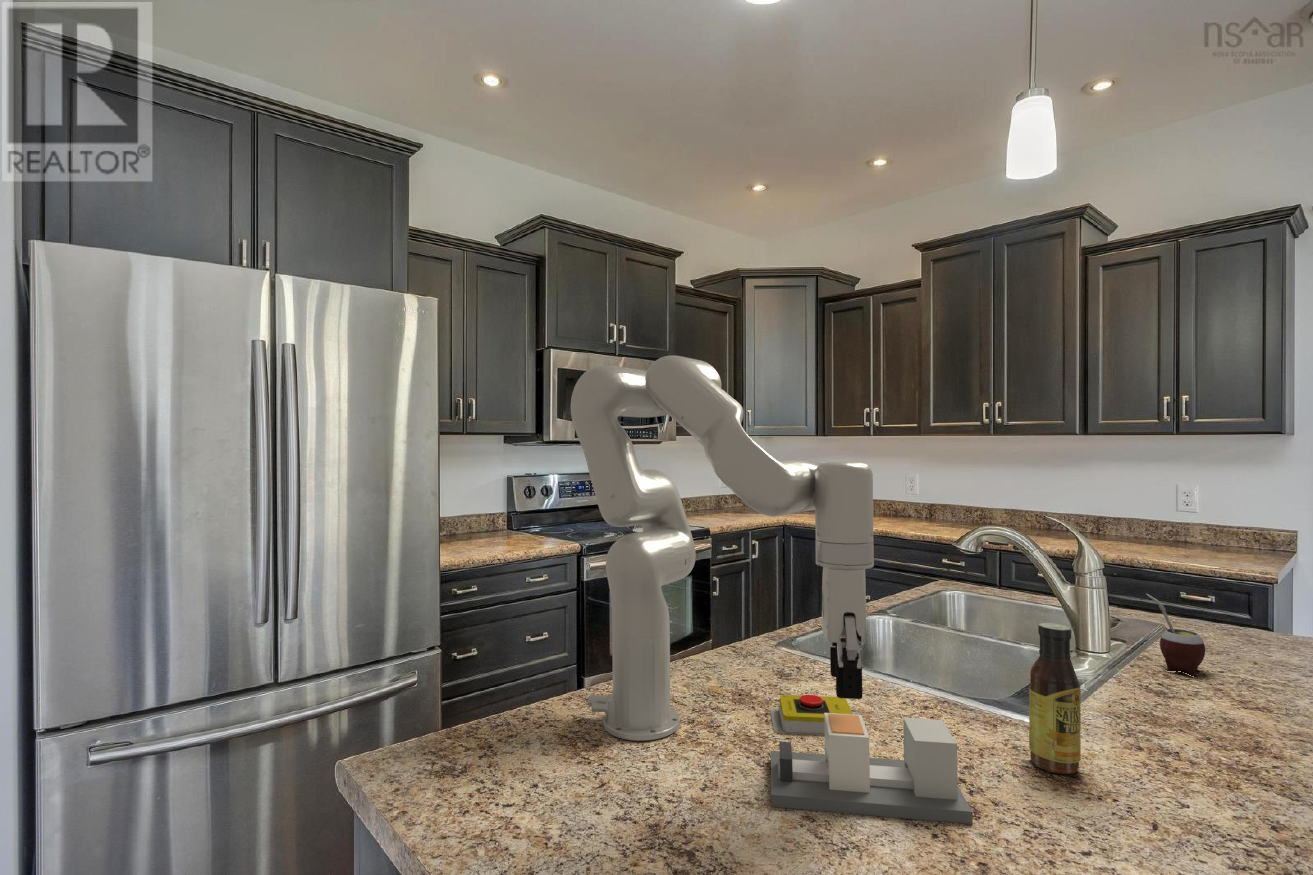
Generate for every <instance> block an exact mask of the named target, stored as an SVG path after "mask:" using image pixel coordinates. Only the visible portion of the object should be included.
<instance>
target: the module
mask: <svg viewBox="0 0 1313 875" xmlns="http://www.w3.org/2000/svg"><path fill="white" fill-rule="evenodd" d="M865 726H866V724H865V721H864V719H863V715H861V714H860V715H852V714H836V713H824V730H825V735H824V755H825V762H829V789H831V790H843V791H855V792H867V793H870V762H869V758H870V735H869V736H868V733H867V730H868V729H867V730H866V728H867V726H866V727H865Z"/></svg>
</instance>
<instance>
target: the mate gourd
mask: <svg viewBox="0 0 1313 875" xmlns="http://www.w3.org/2000/svg"><path fill="white" fill-rule="evenodd" d="M1145 595H1146V596H1147V597H1148V598H1150V599H1151V600H1152V601H1154V602H1155V603H1156V604H1157V605H1158V607H1159V609H1160V611H1161V612H1162V615H1163V616H1164V619H1165V621H1166V623H1167V625H1168V628H1167V629H1165V630H1164V632H1162V634H1161V635H1160V640H1159V647H1160V648H1159V649H1160V652H1161V654H1162V655H1163V658H1164V660H1165V663H1166V664H1165V665H1166V667H1167V669H1165V671H1166V670H1167V671H1176V672H1178V671H1181V672H1184V673H1187V674H1189V675H1191V676H1194V677H1197V678H1198V675H1197V674H1196V673H1195V672H1199V673H1200V669H1198V667H1199V666H1200V665H1201V664H1202V662H1203V661H1204V658H1205V655H1206V645H1205V642H1204V640H1203V638H1202V637H1201V636H1200V634H1199V633H1197V632H1194V631H1191V630H1187V629H1181V628H1174V627H1173V624H1172V623H1171V620H1170V618H1169V616H1168V613H1167V611H1166V607H1165V606H1164V604H1162V602H1160V600H1158V599H1157V598H1155V597H1153V596H1152V595H1150V594H1148V593H1145Z"/></svg>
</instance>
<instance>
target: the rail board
mask: <svg viewBox="0 0 1313 875" xmlns="http://www.w3.org/2000/svg"><path fill="white" fill-rule="evenodd" d="M902 720H903V722H902V723H903V760H901V759H892V758H890V759H889V758H877V757H876V758H875V757H869V762H870V793H867V792H855V791H843V790H831V789H829V762H825V754H821V753H810V752H809V753H808V752H807V753H806V752H795V751H792V750H793V749H792V742H791V741H779V744H778V745H779V747H778V748H779V750H770V798H771V800H770V802H771V803H770V806H771V808H773V807H774V808H783V809H785V808H786V809H793V810H796V809H797V810H805V811H806V810H807V811H818V812H826V813H828V812H829V813H841V814H853V815H862V816H863V815H865V816H876V817H886V818H887V817H888V818H896V819H897V818H898V819H907V820H909V819H910V820H911V819H912V820H920V821H930V822H931V821H932V822H942V823H943V822H945V823H953V824H954V823H955V824H963V825H964V824H966V825H974V822H973V810H972V808H971V807H970V805H969V803H968V801H967V799H966V798H965V796H964V794H963V792H962V790H961V789H960V787H959V785H958V743H957V742H956V740H955V739H954V737H953V735H952V733H951V732H950V730H949V728H948V727H947V726H946V724H945V722H944V721H943V719H930V718H916V717H915V718H914V717H903V719H902Z"/></svg>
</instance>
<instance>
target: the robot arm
mask: <svg viewBox="0 0 1313 875" xmlns="http://www.w3.org/2000/svg"><path fill="white" fill-rule="evenodd" d="M571 394H572V395H571V400H570V414H571V415H570V416H571V420H572V421H571V422H572V424H573V428H574V430H575V431H574V432H575V433H576V435H577V438H578V440H579V441H578V442H579V443H580V447H581V448H582V449H581V450H582V452H583V454H584V457H585V461H586V464H587V465H586V466H587V470H588V473H589V477H590V481H591V484H592V488H593V492H594V495H595V499H596V502H597V506H598V508H599V512H600V514H601V516H602V518H603V520H604V521H605V522H606V523H607V525H609V526H612V527H616V528H628V527H634V526H639V525H640V526H641V529H642V530H643V531H638V532H633V533H630V534H627V535H625V536H622V537H620V538H618V539H617V540H616V541H615V542H614V543H613V544H612V545H611V546H610V548H609V549H608V551H607V555H606V558H605V572H606V576H607V577H606V578H607V582H608V587H609V593H610V594H609V595H610V599H611V600H610V601H611V602H610V604H611V629H612V630H611V632H612V638H611V639H612V640H611V641H612V650H611V651H612V693H608V694H607V695H606V696H605V695H599V694H589V696H588V700H587V703H588V704H587V706H588V707H591V708H590V709H591V712H593V713H600V712H601V713H604V714H605V715H603V728H604V730H605V731H606V732H607V733H608V734H610V735H611V736H613V737H616V738H619V739H620V740H621V739H622V740H627V741H636V742H641V741H643V742H645V741H654V740H659V739H662V738H666V737H668V736H670V735H672V734H674V733H675V732H676V731H677V730H678V729H679V728H680V724H681V722H680V721H681V718H680V715H679V714H680V713H678V712H677V711H676V710H674V709H673V708H672V707H671V649H670V648H671V639H670V638H671V635H670V634H671V633H670V632H671V631H670V630H671V629H670V624H671V622H670V613H669V612H670V611H669V607H668V604H667V601H666V599H665V596H664V593H663V589H662V587H663V586H665V585H669V584H672V583H675V582H679V581H680V580H683V579H685V578H686V577H687V576H689V574H690V573H691V572H692V570H693V568H694V567H695V563H696V557H697V555H696V553H697V552H696V545H695V542H694V541H695V540H694V539H693V534H692V532H691V528H690V524H689V521H688V518H687V514H686V511H685V508H684V505H683V501H682V498H681V495H680V492H679V489H678V488H677V486H676V484H675V483H674V481H673V480H672V479H671V478H670V477H669V475H667V474H665V473H664V472H663V471H659V470H656V469H642V468H641V466H640V463H639V461H638V458H637V454H636V451H635V447H634V444H633V443H632V442H633V441H632V439H631V438H630V436H629V435H628V433H627V431H626V430H625V428H624V427H622V425H621V424H620V421H619V419H618V417H630V418H655V417H663V416H665V417H666V416H670V417H671V418H672V419H673V420H674V421H675V422H677V424H679V425H680V426H681V427H682V428H683V429H684V430H686V431H687V433H688V434H689V435H691V436H692V438H694V439H695V440H696V441H697V442H698V443H699V444H700V445H701V447H703V449H704V453H705V457H706V458H707V461H708V463H709V464H710V466H711V468H712V470H713V472H714V473H715V475H716V476H717V478H718V479H719V480H720V481H721V482H722V483H723V484H724V485H725V486H726V487H727V488H728V489H730V490H731V491H732V492H733V494H735V495H736V496H737V497H738V498H739V499H740V500H741V501H742V502H743V503H744V504H746V505H747V506H748V507H749V508H751V509H753V511H755V512H758V513H759V514H761V515H764V516H767V517H773V518H774V517H782V516H787V515H790V514H798V513H802V512H808V511H815V512H814V514H815V516H814V518H815V519H814V520H815V524H814V526H815V564H816V565H817V566H819V567H821V568H822V580H821V581H822V582H821V584H822V585H821V629H822V634H823V636H824V639H825V642H826V643H827V644H829V645H831V646H830V649H829V650H830V651H829V655H830V658H829V660H830V662H829V663H830V664H829V665H830V666H829V667H830V670H829V671H830V676H831V677H833V678H835V695H836V697H838V698H845V699H850V700H861V699H862V698H863V667H862V658H861V655H862V654H861V646H862V647H863V645H864V644H865V643H866V638H867V637H866V636H867V594H866V591H867V590H866V584H867V582H866V569H872V568H873V567H874V566H875V557H874V556H875V555H874V554H875V552H874V551H875V550H874V548H875V547H874V474H873V471H872V469H871V466H870V465H868V464H867V463H865V462H859V461H857V462H855V461H853V462H852V461H834V462H833V461H832V462H831V461H829V462H828V461H827V462H818V461H811V460H805V459H804V460H802V459H782V460H780V459H779V460H777V459H775V457H773V456H772V455H770V454H769V453H768V452H767V451H766V450H764V449H763V448H762V447H761V446H760V445H759V444H757V442H756V441H755V440H753V439H752V438H751V437H750V436H749V435H748V433H747V432H746V431H745V429H744V428H743V425H742V423H743V419H744V414H745V413H744V408H743V406H742V405H741V404H740V402H738V401H737V400H736V399H734V398H733V396H731V395H730V394H728V393H727V392H726V391H725V390H724V389H722V380H721V377H720V375H719V373H718V371H717V370H716V368H714V366H712V365H711V364H709V362H707V361H704V360H699V359H695V358H690V357H686V356H680V355H674V354H673V355H666V356H665V355H664V356H662V357H659V358H658V359H656V360H655V361H653V362H652V364H651V365H649V367H648V369H647V370H643V369H638V368H633V367H632V368H631V367H625V366H619V365H599V366H594V367H592V368H590V369H588V370H586V371H584V373H583V374H581V375H580V377H579V378H578V380H577V381H576V383H575V385H574V388H573V391H572V393H571Z"/></svg>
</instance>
